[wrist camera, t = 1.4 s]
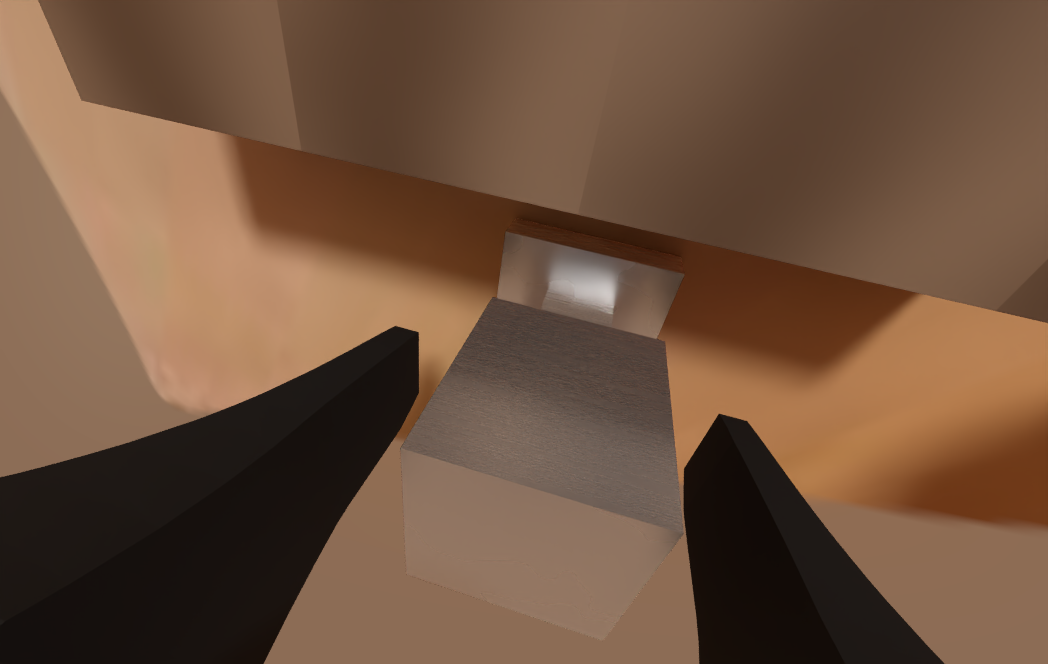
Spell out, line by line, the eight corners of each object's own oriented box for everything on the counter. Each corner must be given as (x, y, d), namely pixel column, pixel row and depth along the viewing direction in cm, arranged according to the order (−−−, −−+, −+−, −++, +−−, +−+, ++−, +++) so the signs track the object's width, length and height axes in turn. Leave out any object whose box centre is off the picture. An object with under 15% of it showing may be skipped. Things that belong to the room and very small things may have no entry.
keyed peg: (680, 256, 12) (739, 526, 5) (629, 381, 15) (621, 658, 8) (515, 217, 12) (364, 414, 5) (497, 346, 15) (384, 577, 8)
